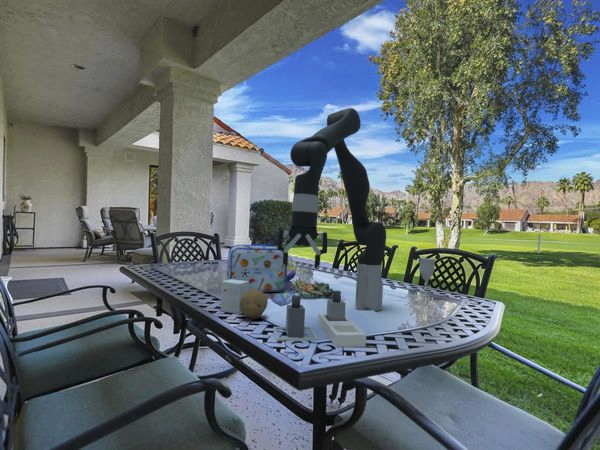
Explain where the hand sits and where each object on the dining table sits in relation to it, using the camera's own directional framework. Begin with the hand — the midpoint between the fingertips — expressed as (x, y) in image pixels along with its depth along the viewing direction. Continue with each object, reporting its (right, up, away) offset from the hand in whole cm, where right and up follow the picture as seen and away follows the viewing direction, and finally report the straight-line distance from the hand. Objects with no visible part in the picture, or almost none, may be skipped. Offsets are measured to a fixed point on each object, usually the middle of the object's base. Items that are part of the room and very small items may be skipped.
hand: (300, 266), depth 99 cm
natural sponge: (-15, -19, +11) cm, 27 cm away
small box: (-23, -18, +21) cm, 36 cm away
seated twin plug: (+10, -19, +3) cm, 22 cm away
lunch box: (-19, -18, +55) cm, 61 cm away
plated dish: (+5, -20, +59) cm, 62 cm away
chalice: (+55, -21, +54) cm, 80 cm away
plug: (-2, -19, -4) cm, 19 cm away
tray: (-2, -19, -4) cm, 20 cm away
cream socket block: (+11, -20, -1) cm, 23 cm away
